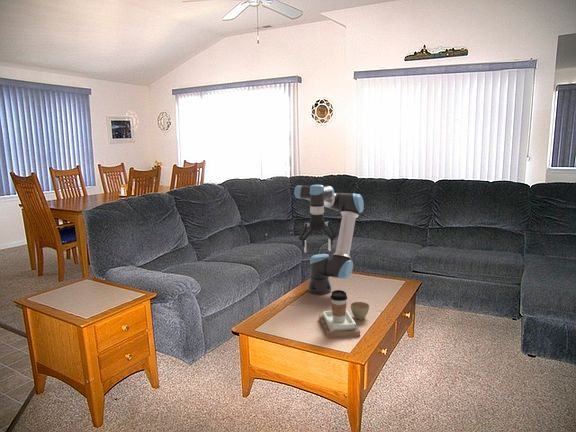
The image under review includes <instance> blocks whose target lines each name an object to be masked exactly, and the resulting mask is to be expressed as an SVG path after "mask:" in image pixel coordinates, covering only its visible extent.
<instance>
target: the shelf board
mask: <svg viewBox="0 0 576 432" xmlns="http://www.w3.org/2000/svg"><path fill="white" fill-rule="evenodd" d="M318 320H319V323H320V324H321V327H322V329H323V331H324V333H325V335H326V337H327V339H336V338H337V339H338V338H350V337H352V338H353V337H361V330H360V329H359V327H358V326H357V324H356V330H344V331H330V330H329V328H328V326H327V324H326V322H325V320H324V318H323V314H319V315H318Z"/></svg>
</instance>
